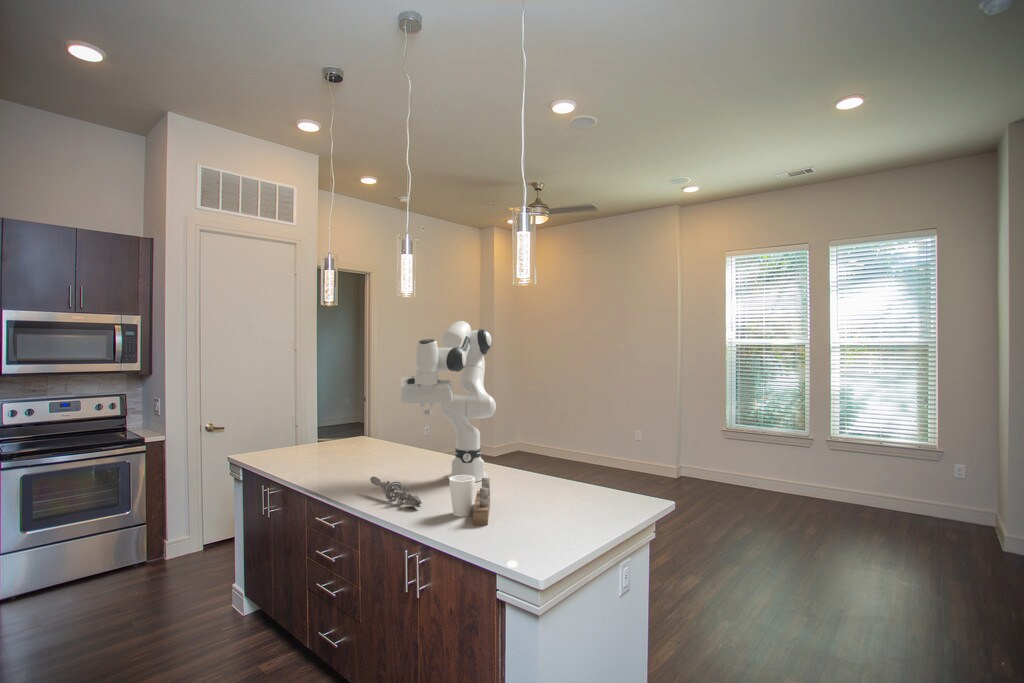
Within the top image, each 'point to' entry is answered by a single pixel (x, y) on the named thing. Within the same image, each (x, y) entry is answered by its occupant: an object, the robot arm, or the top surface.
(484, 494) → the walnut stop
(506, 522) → the top surface
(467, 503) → the foam cup
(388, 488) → the spaceship
